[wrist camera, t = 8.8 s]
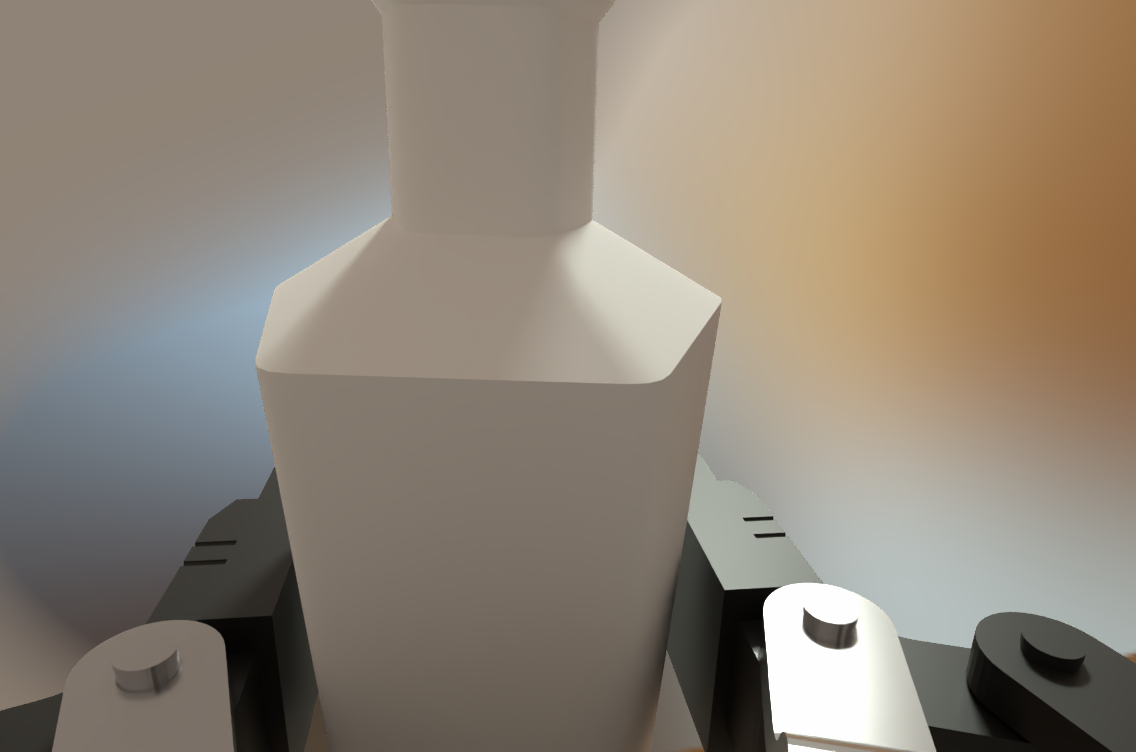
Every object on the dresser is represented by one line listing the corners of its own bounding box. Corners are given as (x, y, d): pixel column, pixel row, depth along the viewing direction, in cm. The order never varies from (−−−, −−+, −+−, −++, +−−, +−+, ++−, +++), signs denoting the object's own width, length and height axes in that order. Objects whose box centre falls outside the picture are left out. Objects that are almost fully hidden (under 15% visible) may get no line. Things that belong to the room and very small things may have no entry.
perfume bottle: (643, 949, 14) (718, 20, 9) (666, 1318, 9) (838, -56, 4) (385, 937, 14) (311, 11, 9) (297, 1299, 10) (57, -74, 5)
